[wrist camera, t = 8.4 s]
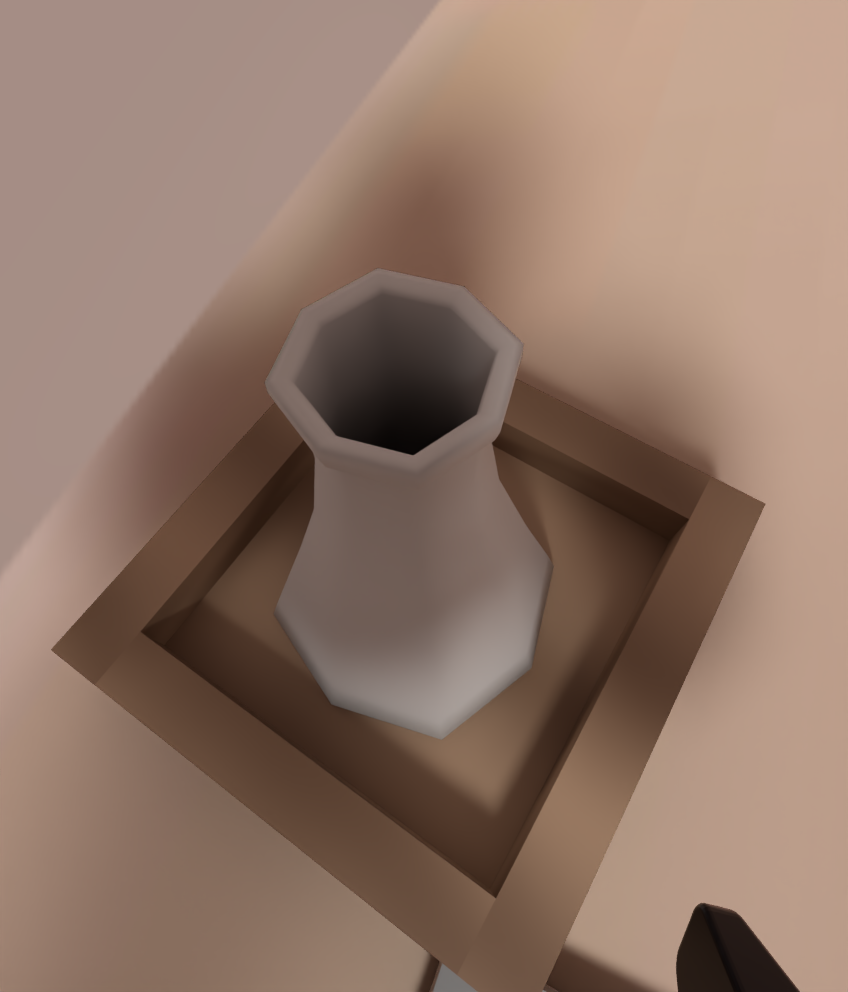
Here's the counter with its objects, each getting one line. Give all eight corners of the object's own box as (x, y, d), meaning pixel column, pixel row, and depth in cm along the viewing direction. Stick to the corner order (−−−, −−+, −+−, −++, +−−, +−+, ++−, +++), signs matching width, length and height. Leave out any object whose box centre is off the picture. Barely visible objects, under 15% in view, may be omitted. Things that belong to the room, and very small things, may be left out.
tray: (510, 991, 14) (524, 1029, 12) (101, 669, 17) (50, 650, 15) (725, 539, 19) (765, 503, 16) (372, 353, 22) (364, 302, 20)
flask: (451, 797, 15) (479, 797, 6) (228, 625, 17) (-15, 421, 8) (596, 561, 17) (774, 304, 8) (388, 435, 19) (348, 114, 10)
